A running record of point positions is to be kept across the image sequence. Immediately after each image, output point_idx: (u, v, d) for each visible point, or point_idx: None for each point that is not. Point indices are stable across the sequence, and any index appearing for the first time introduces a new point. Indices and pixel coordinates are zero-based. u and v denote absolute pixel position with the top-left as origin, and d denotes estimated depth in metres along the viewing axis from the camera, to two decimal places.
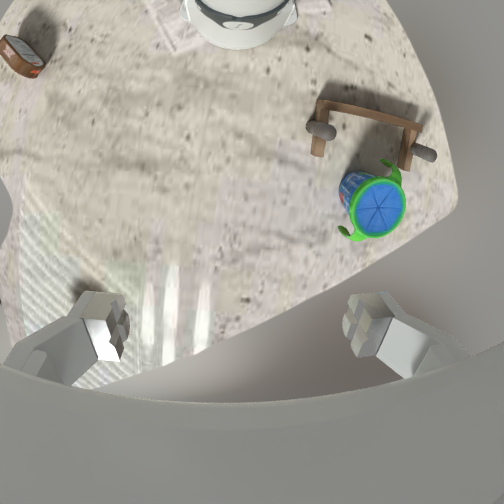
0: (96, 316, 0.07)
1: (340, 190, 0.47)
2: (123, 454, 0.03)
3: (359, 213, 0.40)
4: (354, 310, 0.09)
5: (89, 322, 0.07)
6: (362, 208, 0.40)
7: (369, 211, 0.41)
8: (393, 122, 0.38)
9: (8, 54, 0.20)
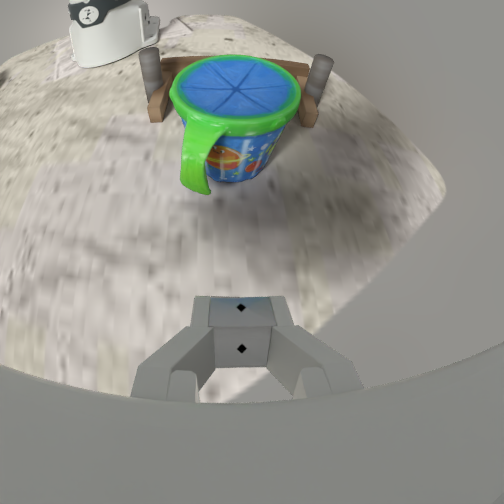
0: (228, 323, 0.07)
1: None
2: (123, 454, 0.03)
3: (190, 91, 0.18)
4: None
5: (220, 330, 0.07)
6: (198, 88, 0.19)
7: (216, 92, 0.19)
8: None
9: None
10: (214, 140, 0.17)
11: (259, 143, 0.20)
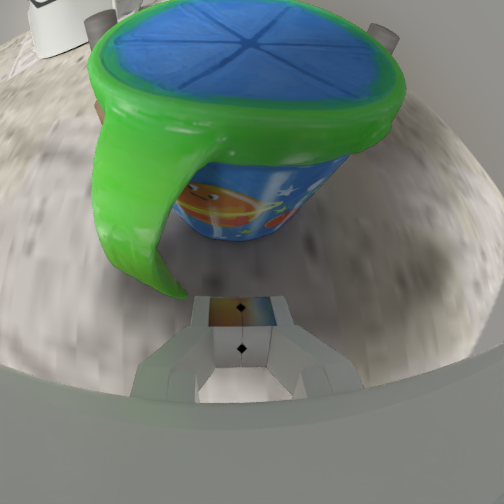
0: (227, 323, 0.07)
1: None
2: (123, 454, 0.03)
3: (134, 48, 0.06)
4: None
5: (219, 330, 0.07)
6: (157, 40, 0.06)
7: (200, 48, 0.07)
8: None
9: None
10: (178, 185, 0.05)
11: (308, 179, 0.08)
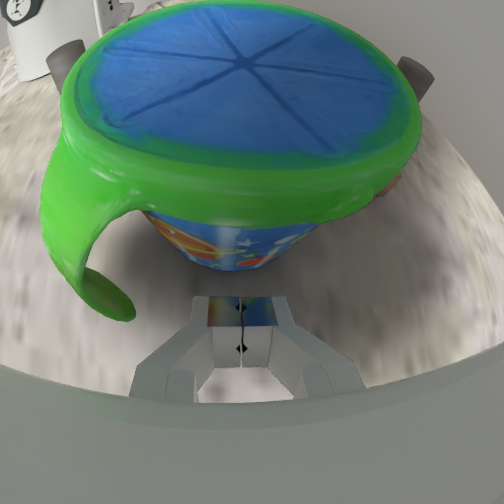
0: (227, 323, 0.07)
1: None
2: (123, 454, 0.03)
3: (118, 58, 0.06)
4: (241, 314, 0.09)
5: (218, 330, 0.07)
6: (146, 50, 0.06)
7: (185, 64, 0.06)
8: None
9: None
10: (91, 233, 0.04)
11: (270, 235, 0.07)
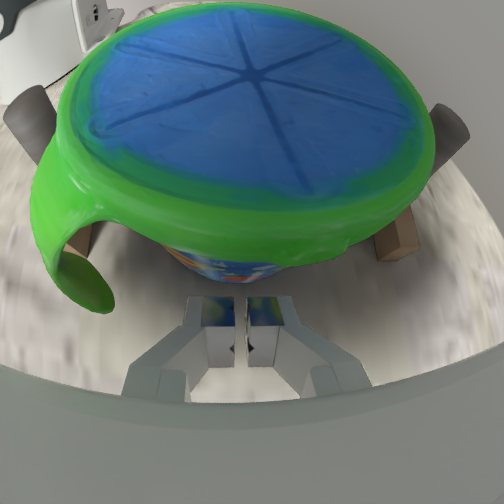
0: (220, 323, 0.07)
1: None
2: (123, 454, 0.03)
3: (127, 56, 0.06)
4: (246, 315, 0.09)
5: (212, 330, 0.07)
6: (157, 51, 0.06)
7: (190, 71, 0.06)
8: None
9: None
10: (62, 235, 0.04)
11: (245, 263, 0.07)
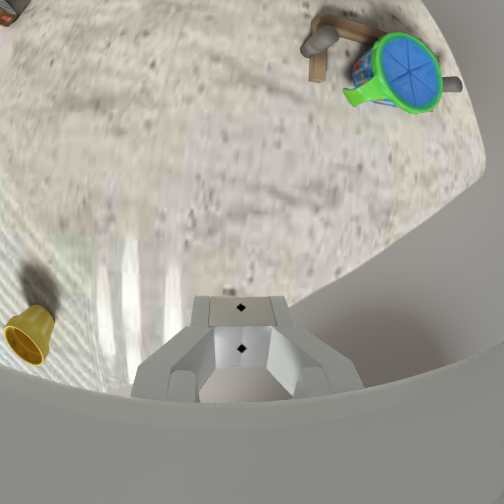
0: (228, 323, 0.07)
1: (357, 60, 0.28)
2: (123, 454, 0.03)
3: (386, 56, 0.21)
4: None
5: (220, 330, 0.07)
6: (391, 55, 0.21)
7: (398, 66, 0.22)
8: None
9: None
10: (380, 98, 0.24)
11: (396, 106, 0.26)
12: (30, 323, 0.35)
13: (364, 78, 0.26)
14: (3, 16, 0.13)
